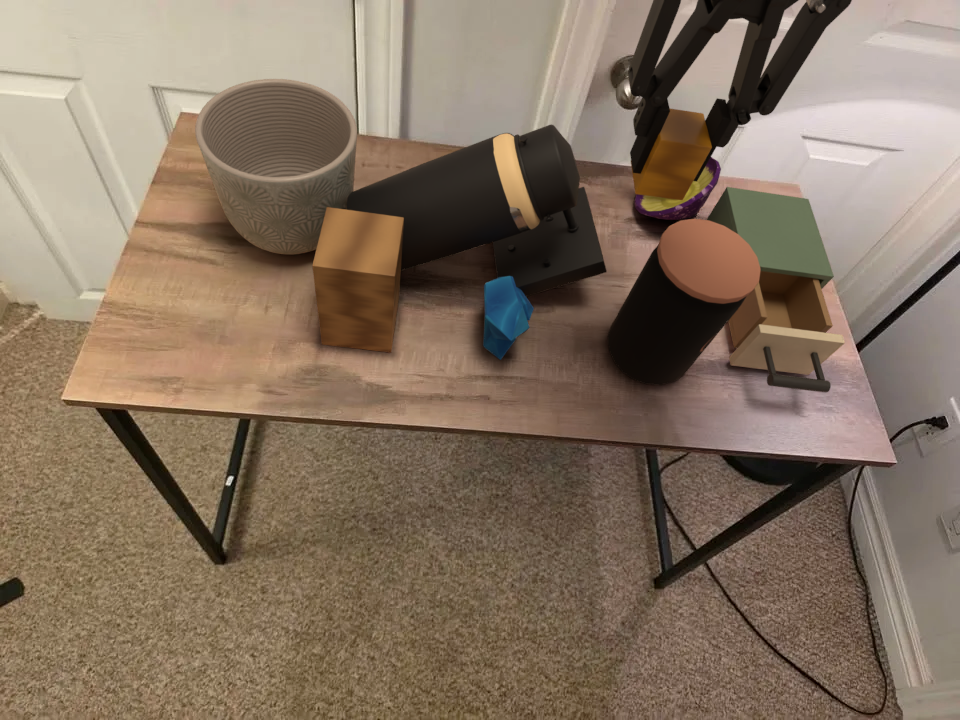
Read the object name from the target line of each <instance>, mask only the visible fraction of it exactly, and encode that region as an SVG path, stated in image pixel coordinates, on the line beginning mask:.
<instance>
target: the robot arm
mask: <svg viewBox="0 0 960 720" xmlns="http://www.w3.org/2000/svg"><path fill="white" fill-rule="evenodd" d="M799 1H800V0H697V1H696V4H695V9H694V10H693V11H692V13H691V15H689V18H688V19H687V21H686V22H685V23H684V24H683V27H682V28H681V30H680V31H679V32H678V34H677V35H676V36H675V38H674V39H673V41H672V43H671V44H670V46H669V47H668V49H667V50H666V51H665V53H664V54H663V55H662V52H663V50H664V47H665V45H666V42H667V39H668V37H669V34H670V32H671V29H672V27H673V24H674V21H675V19H676V16H677V14H678V11H679V9H680V6H681V2H682V0H653V1H652V3H651V6H650V8H649V11H648V14H647V16H646V17H647V18H646V20H645V23H644V25H643V28H642V31H641V34H640V37H639V39H638V42H637V45H636V47H635V49H634V53H633V56H632V58H631V61H630V63H629V67H628V70H627V77H628V83H629V89H630V94H631V95H632V96H634V97H635V98H638V97H641V99H640V101H639V104H638V107H637V110H636V112H635V115H634V117H633V119H632V121H633V122H632V123H633V125H632V126H633V130H634V136H636V138H635V139H634V141H633V144H632V147H631V149H630V152H629V156H630V164H631V163H632V167H631V171H632V170H633V173H638V174H641V172H642V170H643V167H644V165H645V163H646V161H647V159H648V157H649V154H650V152H651V150H652V148H653V146H654V144H655V141H656V139H657V137H658V135H659V133H660V132H661V130H662V128H663V126H664V123H665V121H666V119H667V117H668V115H669V113H670V109H671V108H670V104H669V100H668V98H669V97H670V95H672V92H674V90H675V89H676V88H677V86H678V85H679V83H680V82H681V80H682V79H683V78H684V76H685V74H686V73H687V72H688V71H689V69H690V68H691V66H692V65H693V64H694V62H695V61H696V60H697V58H698V57H699V56H700V54H701V53H702V52H703V50H704V49H705V48H706V46H707V45H708V43H709V42H710V40H711V39H712V38H713V37H714V35H716V34H719V33H720V32H721V31H722V30H723V28H724V27H725V26H726V25H727V23H728V22H729V20H737V19H738V20H739V19H743V20H745V21H748V23H747V27H746V30H745V32H744V33H745V34H744V38H743V40H742V45H741V47H740V51H739V55H738V59H737V63H736V66H735V70H734V73H733V77H732V81H731V85H730V87H729V90H728V91H729V93H728V94H727V95H728V100H726V99H725V98H718V97H716V99H715V101H714V102H713V105H712V106H711V109H710V110H709V112H708V114H707V116H706V118H705V122H706V126H707V130H708V133H709V137H710V141H711V145H712V148H711V150H710V152H709V154H708V156H707V157H706V159H705V161H704V163H703V165H702V166H701V168H700V170H699V172H698V174H697V175H696V177H695V179H694V181H696V182H697V181H698V179H699V177H700V175H701V173H702V172H703V170H704V168H705V166H706V165H707V163H708V161H709V159H710V157H713V154H714V152H715V151H716V148H722V149H723V148H725V147H726V146H727V145H728V144H729V143H730V141H731V139H732V138H733V136H734V134H735V132H736V131H737V128H738V127H739V126H745V125H747V124H748V123H750V122H751V120H752V116H751V115H752V114H757V113H759V115H761V116H769V115H770V114H772V113H773V112H774V111H775V109H776V108H777V106H778V104H779V103H780V101H781V100H782V98H783V96H784V95H785V93H786V92H787V90H788V89H789V87H790V85H791V84H792V82H793V81H794V80H795V77H796V76H797V74H798V73H799V72H800V70H801V68H802V67H803V65H804V63H805V62H806V60H807V58H808V57H809V55H810V54H811V53H812V51H813V49H814V48H815V46H816V44H817V43H818V42H819V40H820V38H821V36H822V35H823V34H824V32H825V30H826V28H827V27H828V26H829V25H831V23H833V22H834V21H835V20H836V19H837V18H838V17H840V15H841V14H842V13H843V12H844V11H845V10H847V8H849V6H850V5H851V4H852V2H853V0H805V2H804V3H803V5H802V6H801V8H800V9H799V11H798V12H797V14H796V16H795V18H794V19H793V21H792V22H791V25H790V26H789V28H788V29H787V31H786V33H785V35H784V36H783V38H782V40H781V41H780V43H779V45H778V47H777V49H776V50H775V52H774V53H773V55H772V57H771V59H770V61H769V62H768V64H767V66H766V67H765V64H766V61H767V59H768V54H769V52H770V48H771V45H772V42H773V40H774V39H776V37H777V35H778V33H779V30H780V26H781V22H782V21H783V20H782V19H783V16H784V14H785V11H786V10H787V9H789V8H790V7H792V6H793V5H794V4H796V3H798V2H799ZM661 55H662V58H660V57H661ZM659 59H660V60H659ZM764 68H765V69H764ZM763 70H764V71H763Z"/></svg>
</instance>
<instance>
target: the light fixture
mask: <svg viewBox="0 0 960 720" xmlns="http://www.w3.org/2000/svg"><path fill="white" fill-rule="evenodd" d="M580 181H581V176H580V173H579V169H578V165H577V162H576V159H575V154H574V151H573V148H572V145H571V144H570V143H569V142H568V140H567V139H566V138H565V137H564V136H563V134H562V133H561V132H560V130H558V128H557V127H556V126H555V125H554V124H548V125H545V126H542V127H540V128H537V129H534V130H532V131H529V132H527V133H523V134H515V135H514V134H513V133H511V132H504V133H503V132H502V133H500V134H496V135H494V136H492V137H489V138H486V139H484V140H481V141H478V142H476V143H473V144H470V145H467V146H465V147H462V148H459V149H458V150H455V151H452V152H450V153H447V154H444V155H442V156H439V157H436V158H434V159H431V160H428V161H426V162H423V163H421V164H418V165H416V166H413V167H411V168H408V169H406V170H403V171H400V172H398V173H396V174H393V175H390V176H388V177H386V178H384V179H381V180H378V181H376V182H374V183H371V184H368V185H366V186H363V187H361V188H358V189H356V190H353V192H351V193H350V194H349V196H348V199H347V210H353V211H360V212H367V213H374V214H382V215H389V216H396V217H403V218H404V226H403V242H402V259H401V272H402V271H406V270H409V269H411V268H415V267H419V266H422V265H426V264H428V263H432V262H435V261H438V260H441V259H444V258H447V257H451V256H455V255H457V254H461V253H465V252H466V251H470V250H473V249H476V248H479V247H483V246H485V245H488V244H492V247H493V254H494V262H495V263H494V264H495V269H496V277H497V278H499V277H505V276H512V277H513V279H514V282H515V285H516V287H517V288H519V289H520V290H522V292H523V293H524V295H525V296H526V297H530V296H533V295H536V294H539V293H543V292H545V291H550V290H553V289H556V288H560V287H563V286H566V285H569V284H573V283H576V282H579V281H582V280H585V279H590V278H592V277H596V276H598V275H601V274H606V273H607V267H606V263H605V260H604V255H603V251H602V248H601V244H600V240H599V236H598V232H597V229H596V228H597V227H596V225H595V220H594V217H593V214H592V209H591V204H590V201H589V198H588V195H587V192H586V188H585V186H581V187H580Z"/></svg>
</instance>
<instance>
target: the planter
mask: <svg viewBox="0 0 960 720" xmlns="http://www.w3.org/2000/svg"><path fill="white" fill-rule="evenodd" d="M194 126H195V128H194V133H195V139H196V143H197V145H198V148H199V151H200V153H201V156H202V159H203V161H204V164H205V166H206V169H207V172H208V174H209V177H210V180H211V182H212V185H213V187H214V191H215V193H216V196H217V198H218V201H219V203H220V204H219V205H220V206H221V209H222V211H223V213H224V216H225V217H226V218H227V220H228V222H229V223H230V224H231V226H232V227H233V229H234V230H235V231H236V232H237V233H238V234H239V235H240V236H241V237H242V239H245V240H246V241H247V242H248V243H250V244H251V245H253V246H255V247H256V248H259V249H261V250H264V251H267V252H270V253H273V254H281V255H300V254H306V253H309V252H313V251H316V249H317V245H318V241H319V237H320V232H321V228H322V224H323V220H324V216H325V212H326V208H327V207H331V208H338V209H345V210H347V199H348V196H349V194H350V193H351V192H353V191H354V186H355V173H356V159H357V158H356V155H357V144H358V143H357V142H358V125H357V122H356V120H355V118H354V115H353V113H352V111H351V110H350V109H349V107H348V106H347V105H346V104H345V103H344V102H343V101H342V100H341V99H339V98H338V97H337V96H336V95H335V94H333V93H331V92H330V91H327V90H326V89H323V88H322V87H319V86H316V85H314V84H311V83H308V82H303V81H299V80H294V79H288V78H286V79H285V78H263V79H255V80H250V81H244V82H242V83H238V84H235V85H233V86H231V87H228V88H226V89H224V90H222V91H220V92H218V93H217V94H215V95H214V96H213V97H212V98H210V99H209V100H208V101H207V102H206V103H205V105H204V106H203V107H202V108H201V110H200V111H199V114H198V115H197V117H196V121H195V125H194Z"/></svg>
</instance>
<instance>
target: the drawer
mask: <svg viewBox="0 0 960 720" xmlns="http://www.w3.org/2000/svg"><path fill="white" fill-rule="evenodd" d="M728 325H729V326H728V327H729V331H730V336H731V340H732V341H731V342H732V346H733V348H734V349H735V350H734V352H732V354H731V355H730V356H729V357H728V359H729V363H730V366H733V367H741V368H742V367H743V368H748V369H749V368H750V369H757V370H764V371H765V370H766V371H767V373H768V375H767V378H766V384H767V386H769V387H776V388H785V389H792V390H800V391H801V390H802V391H808V392H809V391H810V392H818V393H828V392H830V390H831V386H832V385H831V382H830V381H829V380H827V379H826V378H825V377H826V376H825V375H824V371H823V367H822V364H823V363H824V362H825V361H827V360H828V359H829V358H830V357H831V356H832V355H833V354H834V353H836V352H837V351H838V350H839V349H840V348H841V347H842V346H843V345H845V344H846V342H845V338H844V335H843V334H840V333H839V334H838V333H831V332H828V331H830V329H831V328H833V326H834V325H833V322H832V318H831V315H830V312H829V309H828V305H827V303H826V299H825V296H824V293H823V288H822V289H821V286H820V283H819V280H818V279H816V278H808V277H801V276H794V275H786V274H779V273H772V272H764V271H760V278H759V282H758V284H757V285H756V287H755V288H754V290H753V291H752V292H751V293H750V294H749V295H748V296H746V298H745V300H744V301H743V303H742V304H741V306H740V307H739V308H738V310H737V311H736V312H735V313H734V315H733V316H732V317H731V318H730V319H729V321H728ZM777 372H784V373H791V374H800V375H808V376H809V375H810V374H812V373H813V372H814V374H815V376H816V377H815V378H809V377H803V376H793V375H785V374H778V373H777Z"/></svg>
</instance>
